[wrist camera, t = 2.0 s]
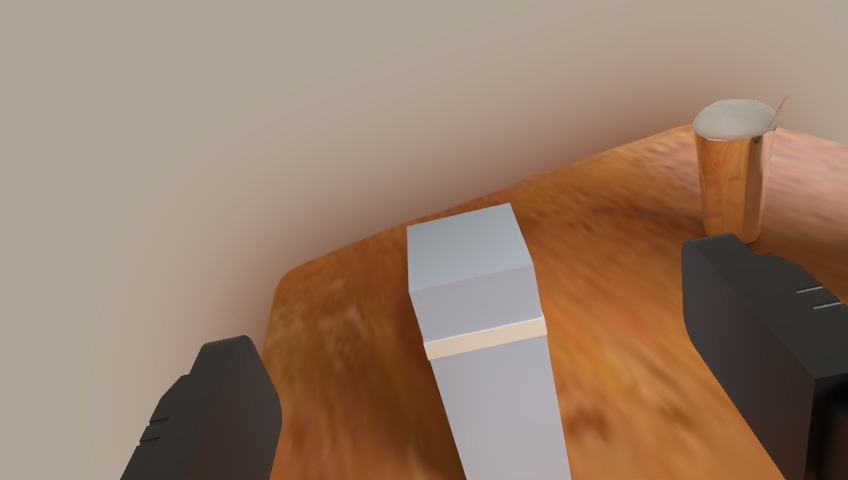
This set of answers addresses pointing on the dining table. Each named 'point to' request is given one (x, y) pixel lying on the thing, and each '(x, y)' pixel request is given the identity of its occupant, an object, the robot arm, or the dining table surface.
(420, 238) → the tall grey box
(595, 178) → the dining table surface
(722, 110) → the milkshake
